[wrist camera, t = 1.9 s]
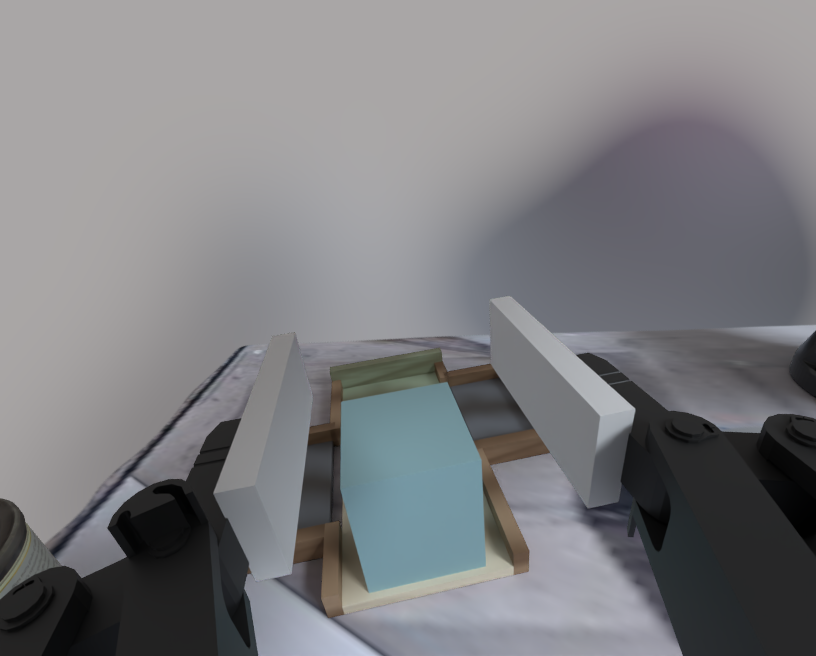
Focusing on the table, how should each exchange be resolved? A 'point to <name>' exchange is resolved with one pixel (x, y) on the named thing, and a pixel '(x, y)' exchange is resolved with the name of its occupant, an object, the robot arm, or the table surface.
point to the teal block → (411, 486)
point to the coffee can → (19, 549)
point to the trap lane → (496, 443)
